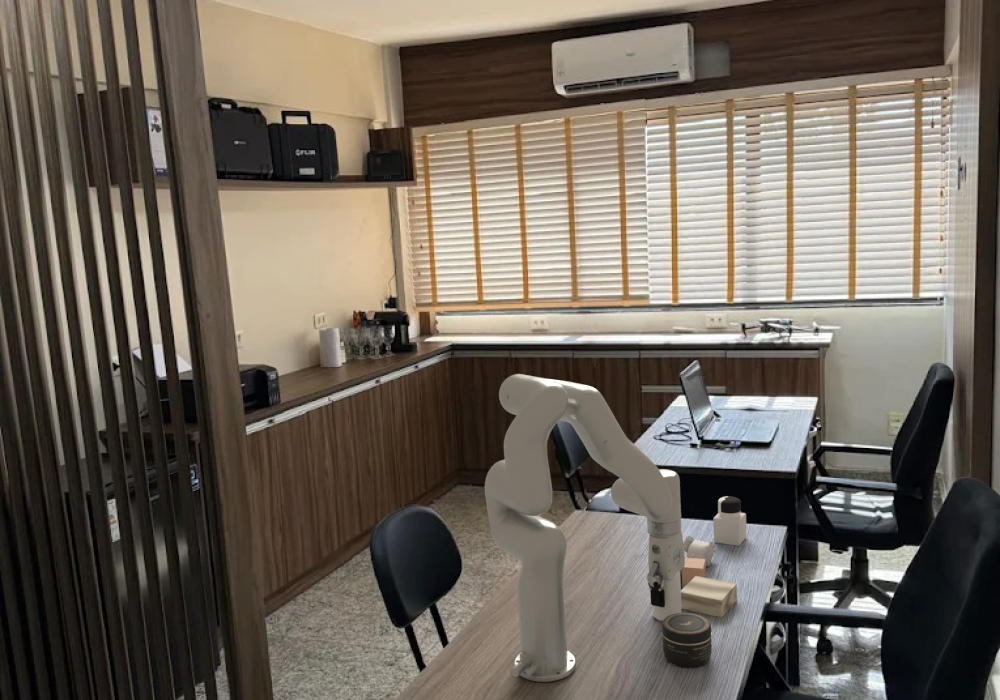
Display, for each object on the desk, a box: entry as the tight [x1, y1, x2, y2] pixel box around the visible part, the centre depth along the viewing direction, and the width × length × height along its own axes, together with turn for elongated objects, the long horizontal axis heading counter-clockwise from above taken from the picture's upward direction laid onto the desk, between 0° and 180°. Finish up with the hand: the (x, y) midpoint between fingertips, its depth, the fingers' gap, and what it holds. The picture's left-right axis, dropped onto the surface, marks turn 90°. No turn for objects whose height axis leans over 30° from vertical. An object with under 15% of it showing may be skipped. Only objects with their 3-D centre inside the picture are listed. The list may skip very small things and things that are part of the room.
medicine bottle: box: [712, 495, 747, 547], centre depth 235 cm, size 7×7×12 cm
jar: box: [661, 612, 713, 669], centre depth 174 cm, size 10×10×8 cm
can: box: [651, 571, 682, 623], centre depth 192 cm, size 6×6×12 cm
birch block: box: [681, 576, 738, 618], centre depth 198 cm, size 10×10×4 cm
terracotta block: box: [681, 557, 707, 587], centre depth 210 cm, size 6×6×5 cm
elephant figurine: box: [683, 535, 717, 567], centre depth 220 cm, size 8×10×7 cm
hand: (666, 597), depth 193 cm, fingers open, 9 cm apart
